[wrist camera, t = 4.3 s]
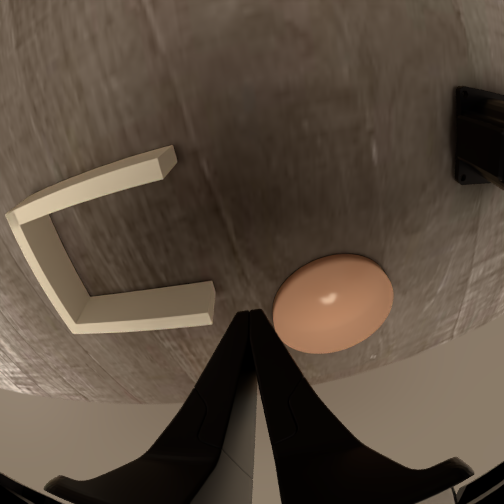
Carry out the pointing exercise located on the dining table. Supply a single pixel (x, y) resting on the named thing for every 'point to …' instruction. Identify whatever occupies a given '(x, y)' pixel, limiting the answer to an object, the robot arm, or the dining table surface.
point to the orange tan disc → (332, 303)
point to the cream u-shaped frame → (65, 276)
